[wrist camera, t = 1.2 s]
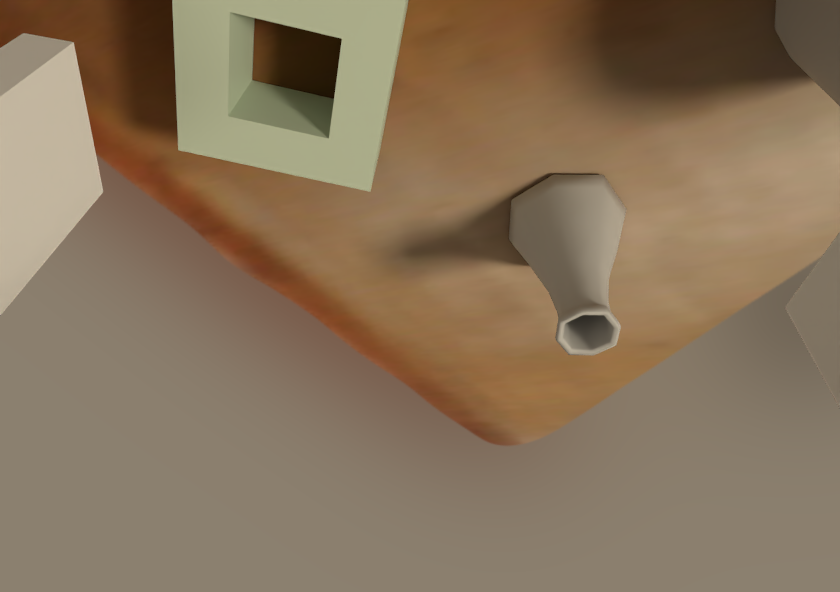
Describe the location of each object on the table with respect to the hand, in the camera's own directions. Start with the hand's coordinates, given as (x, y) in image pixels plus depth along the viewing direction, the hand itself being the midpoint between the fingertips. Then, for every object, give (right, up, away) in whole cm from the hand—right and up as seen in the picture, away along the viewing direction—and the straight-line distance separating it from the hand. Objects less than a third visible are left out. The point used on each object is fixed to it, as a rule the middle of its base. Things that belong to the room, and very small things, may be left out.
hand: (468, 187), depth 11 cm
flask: (+8, +3, +29) cm, 30 cm away
